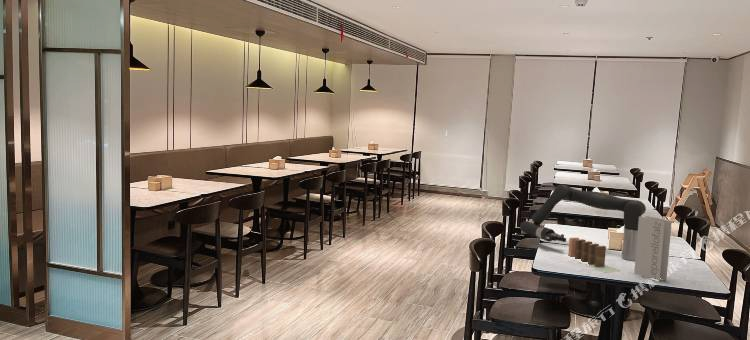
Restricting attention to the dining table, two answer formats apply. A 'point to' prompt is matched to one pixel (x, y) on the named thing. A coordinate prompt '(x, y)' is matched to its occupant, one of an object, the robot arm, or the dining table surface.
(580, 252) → the tile
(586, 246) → the tile
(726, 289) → the dining table surface
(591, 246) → the tile
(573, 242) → the tile
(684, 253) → the dining table surface
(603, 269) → the mat
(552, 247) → the dining table surface
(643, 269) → the brochure
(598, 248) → the tile
